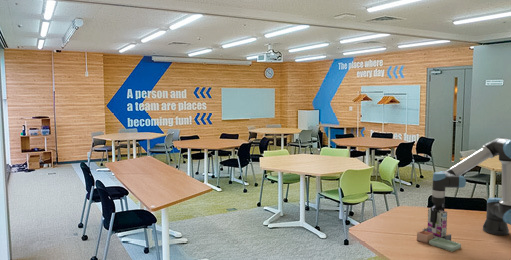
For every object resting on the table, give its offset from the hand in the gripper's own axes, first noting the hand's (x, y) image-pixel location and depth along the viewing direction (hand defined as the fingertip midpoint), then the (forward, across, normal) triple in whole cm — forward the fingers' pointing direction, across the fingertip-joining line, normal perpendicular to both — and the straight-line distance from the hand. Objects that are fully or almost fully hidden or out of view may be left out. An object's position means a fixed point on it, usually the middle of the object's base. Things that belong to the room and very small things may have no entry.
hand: (436, 231), depth 253 cm
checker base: (+4, 0, 0) cm, 4 cm away
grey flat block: (+3, 0, 0) cm, 3 cm away
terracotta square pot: (+4, +10, -2) cm, 12 cm away
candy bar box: (+2, 0, 0) cm, 2 cm away
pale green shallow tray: (+4, +9, +10) cm, 14 cm away
